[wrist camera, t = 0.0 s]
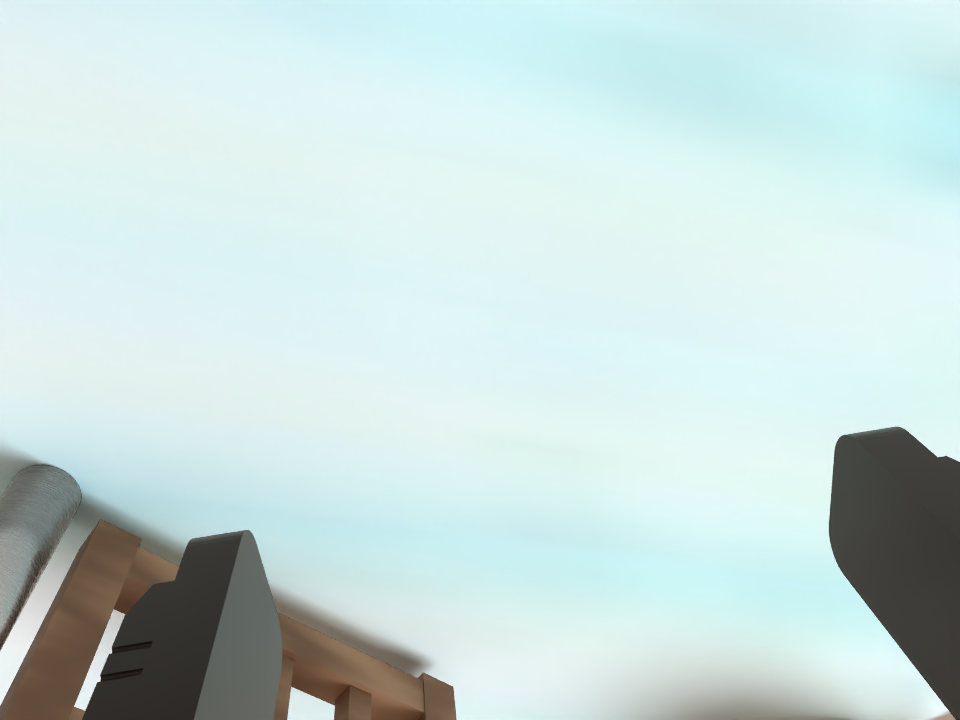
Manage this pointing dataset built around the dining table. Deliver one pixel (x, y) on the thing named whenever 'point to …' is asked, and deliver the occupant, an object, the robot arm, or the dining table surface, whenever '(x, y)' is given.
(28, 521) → the hinge post
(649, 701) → the dining table surface
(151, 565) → the walnut gate
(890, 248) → the dining table surface
